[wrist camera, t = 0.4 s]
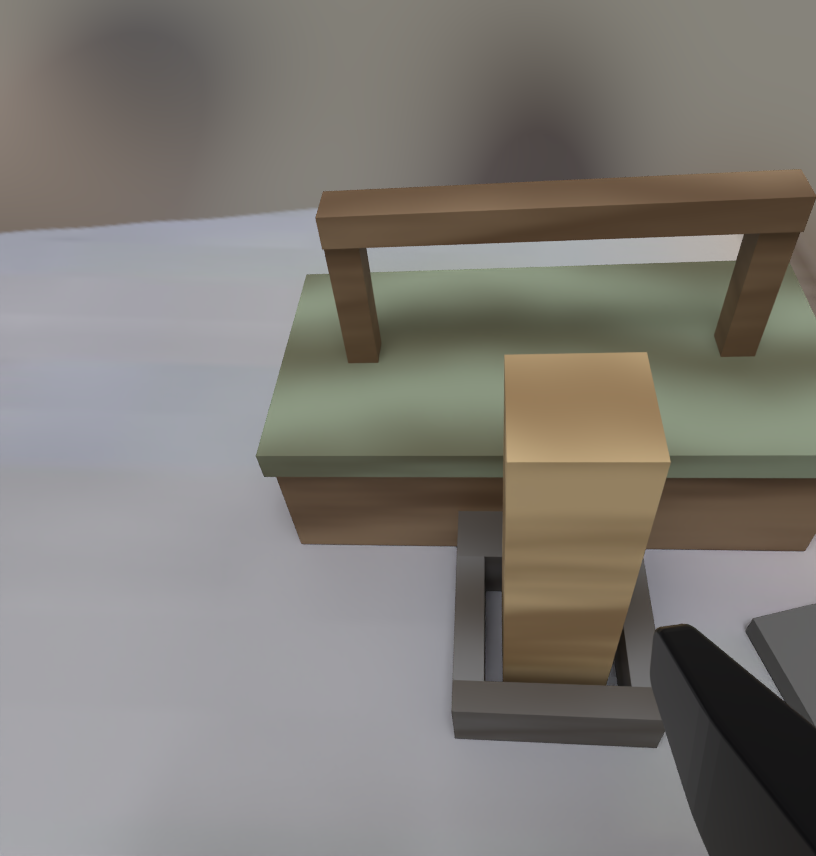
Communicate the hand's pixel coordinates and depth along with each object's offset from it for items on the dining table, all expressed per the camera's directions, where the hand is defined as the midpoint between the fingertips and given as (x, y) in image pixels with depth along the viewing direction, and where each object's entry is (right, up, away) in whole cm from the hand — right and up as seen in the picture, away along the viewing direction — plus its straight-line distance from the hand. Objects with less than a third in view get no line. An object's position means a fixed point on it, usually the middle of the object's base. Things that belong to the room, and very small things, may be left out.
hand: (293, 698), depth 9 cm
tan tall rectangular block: (+7, -5, +17) cm, 19 cm away
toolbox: (+7, 0, +21) cm, 22 cm away
